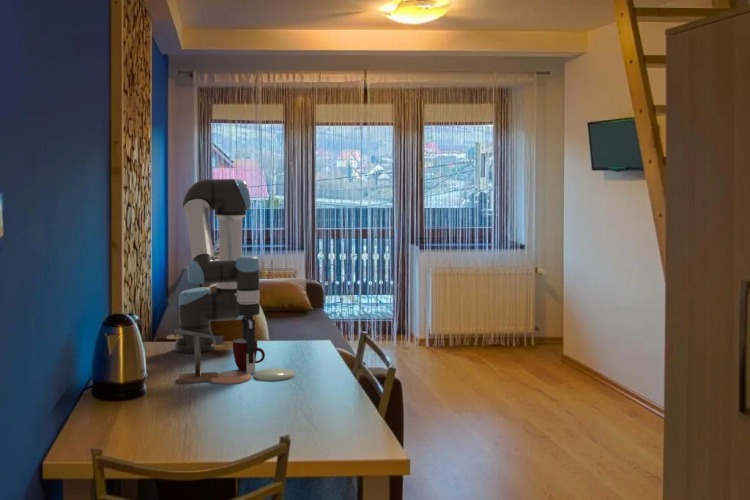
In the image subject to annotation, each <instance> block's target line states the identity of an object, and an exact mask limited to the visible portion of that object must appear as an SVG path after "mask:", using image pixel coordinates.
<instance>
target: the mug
mask: <svg viewBox="0 0 750 500" xmlns="http://www.w3.org/2000/svg"><path fill="white" fill-rule="evenodd" d="M251 349H252V348H251ZM255 350H256V352H255V364H259V363H261V362H262V363H263V361H264V360H265V358H266V357H265V356H266V353H265V351H264V349H263V348H261V347H258V340H257V339H256V338H255ZM245 351H247V345H246V340H244V339H243V338H238V339H234V340H232V352H233V357H234V358H233V359H234V361H235V364H236V365H235V366H236V367H237V369H238V370H239V371H240V372H247V367H246V354H245ZM258 352H260V353H261V358H260V359H259V360H257V353H258Z"/></svg>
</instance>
